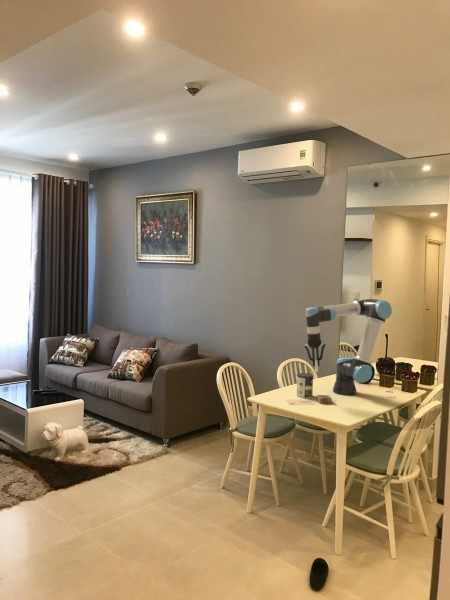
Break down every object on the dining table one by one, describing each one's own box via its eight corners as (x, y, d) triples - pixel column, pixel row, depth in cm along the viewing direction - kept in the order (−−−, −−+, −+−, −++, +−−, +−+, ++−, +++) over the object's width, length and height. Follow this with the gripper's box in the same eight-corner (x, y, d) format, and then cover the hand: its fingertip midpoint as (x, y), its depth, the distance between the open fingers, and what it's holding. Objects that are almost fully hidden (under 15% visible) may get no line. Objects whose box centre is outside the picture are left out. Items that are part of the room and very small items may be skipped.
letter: (310, 400, 299) (310, 399, 299) (315, 405, 288) (315, 404, 288) (285, 400, 298) (285, 399, 298) (289, 405, 287) (289, 404, 287)
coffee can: (312, 395, 312) (313, 373, 311) (312, 399, 301) (313, 377, 301) (296, 394, 314) (297, 372, 313) (295, 398, 303) (296, 375, 303)
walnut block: (328, 401, 298) (328, 395, 298) (331, 404, 291) (331, 398, 291) (316, 401, 298) (317, 395, 297) (319, 404, 291) (320, 398, 290)
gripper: (323, 331, 296) (326, 369, 298) (302, 333, 297) (305, 370, 299) (325, 333, 289) (328, 372, 290) (303, 334, 290) (306, 373, 292)
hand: (316, 371), depth 295 cm, fingers closed
